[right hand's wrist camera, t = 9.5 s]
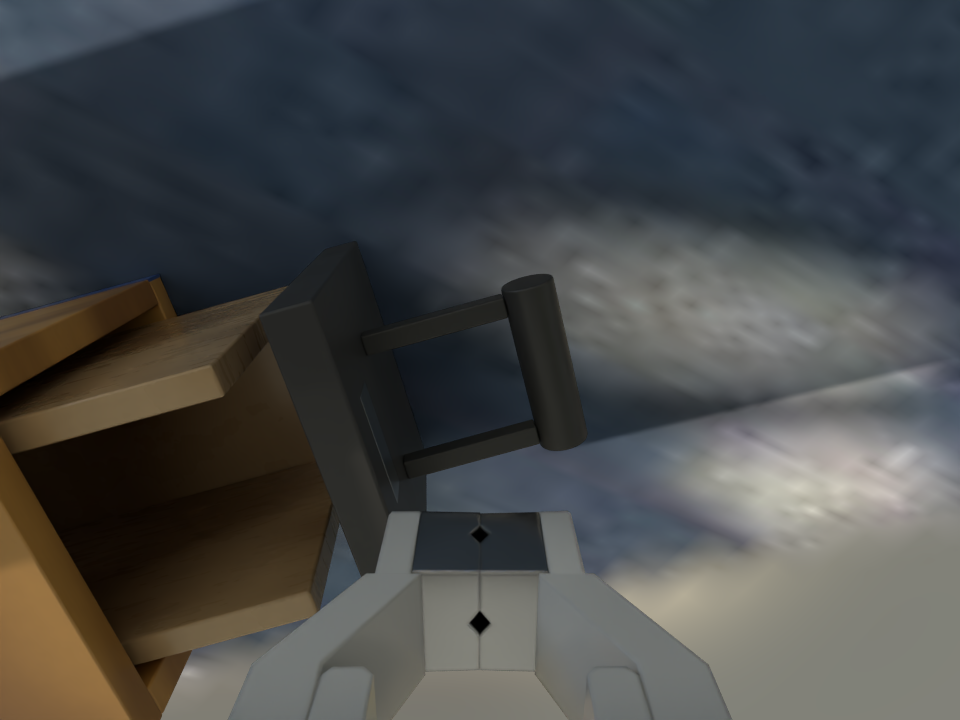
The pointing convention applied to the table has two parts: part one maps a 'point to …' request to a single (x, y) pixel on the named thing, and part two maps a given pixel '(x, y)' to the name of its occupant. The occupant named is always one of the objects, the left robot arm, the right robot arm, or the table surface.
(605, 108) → the table surface
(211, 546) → the drawer
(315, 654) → the right robot arm
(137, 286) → the cabinet
